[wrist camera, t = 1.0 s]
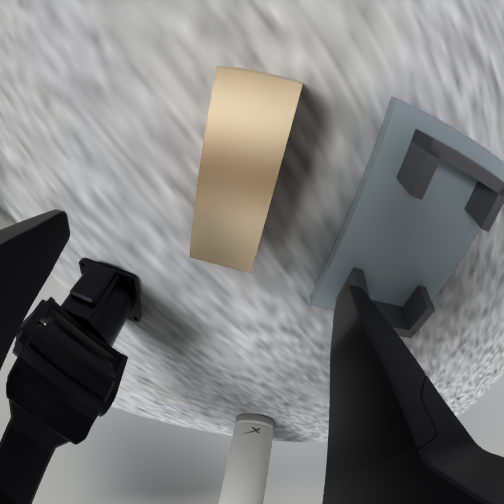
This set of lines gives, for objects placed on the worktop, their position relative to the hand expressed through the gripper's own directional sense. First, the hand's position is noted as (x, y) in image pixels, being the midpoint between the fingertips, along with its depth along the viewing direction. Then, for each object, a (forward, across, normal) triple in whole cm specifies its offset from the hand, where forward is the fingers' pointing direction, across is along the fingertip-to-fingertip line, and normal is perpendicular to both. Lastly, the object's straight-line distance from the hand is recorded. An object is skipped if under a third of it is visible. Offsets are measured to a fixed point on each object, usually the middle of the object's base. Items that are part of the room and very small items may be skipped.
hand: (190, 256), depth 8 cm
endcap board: (+11, -12, +2) cm, 16 cm away
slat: (+11, 0, 0) cm, 11 cm away
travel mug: (+11, -9, +40) cm, 42 cm away
